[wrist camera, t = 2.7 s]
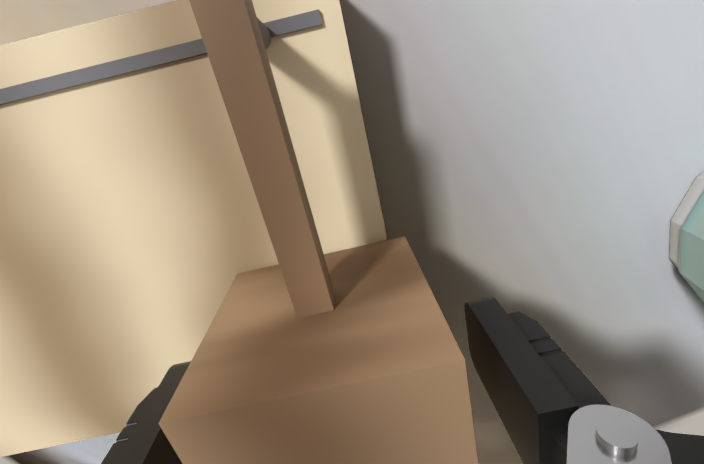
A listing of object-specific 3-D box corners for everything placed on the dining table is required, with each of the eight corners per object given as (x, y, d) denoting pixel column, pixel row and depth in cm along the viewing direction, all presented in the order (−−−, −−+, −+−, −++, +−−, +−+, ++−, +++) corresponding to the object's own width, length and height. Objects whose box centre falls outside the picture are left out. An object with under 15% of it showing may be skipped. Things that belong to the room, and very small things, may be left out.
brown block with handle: (357, 10, 9) (402, -141, 3) (423, 367, 14) (493, 583, 8) (178, 55, 10) (-103, -8, 3) (302, 392, 14) (279, 622, 8)
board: (331, -15, 10) (330, -41, 8) (403, 334, 14) (414, 373, 12) (-329, 152, 10) (-482, 166, 8) (-62, 432, 15) (-121, 484, 13)
